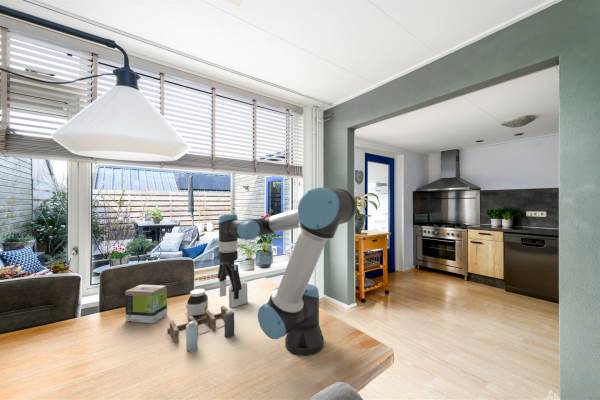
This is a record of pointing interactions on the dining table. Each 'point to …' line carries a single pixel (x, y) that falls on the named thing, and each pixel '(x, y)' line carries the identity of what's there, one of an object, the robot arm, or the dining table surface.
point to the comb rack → (208, 319)
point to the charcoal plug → (229, 323)
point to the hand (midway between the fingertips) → (229, 300)
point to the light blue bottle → (191, 336)
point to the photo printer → (242, 294)
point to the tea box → (146, 303)
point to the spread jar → (197, 303)
